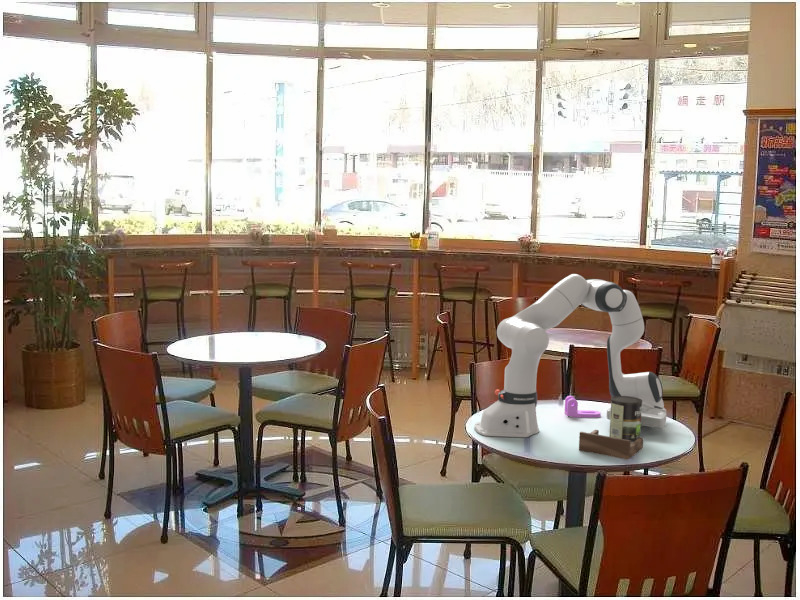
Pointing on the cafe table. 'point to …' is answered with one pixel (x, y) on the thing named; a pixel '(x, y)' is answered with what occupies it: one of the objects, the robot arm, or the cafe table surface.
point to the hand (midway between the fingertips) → (629, 422)
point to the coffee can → (625, 417)
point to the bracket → (573, 411)
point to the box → (609, 445)
